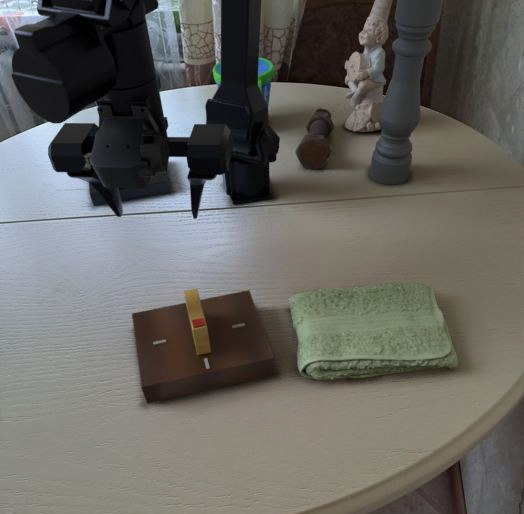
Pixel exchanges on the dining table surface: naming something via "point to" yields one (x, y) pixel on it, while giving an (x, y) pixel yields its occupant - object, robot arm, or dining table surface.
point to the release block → (137, 190)
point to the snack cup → (264, 76)
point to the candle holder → (404, 90)
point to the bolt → (316, 141)
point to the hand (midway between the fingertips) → (157, 215)
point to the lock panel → (184, 351)
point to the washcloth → (370, 331)
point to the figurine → (368, 71)
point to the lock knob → (197, 322)
